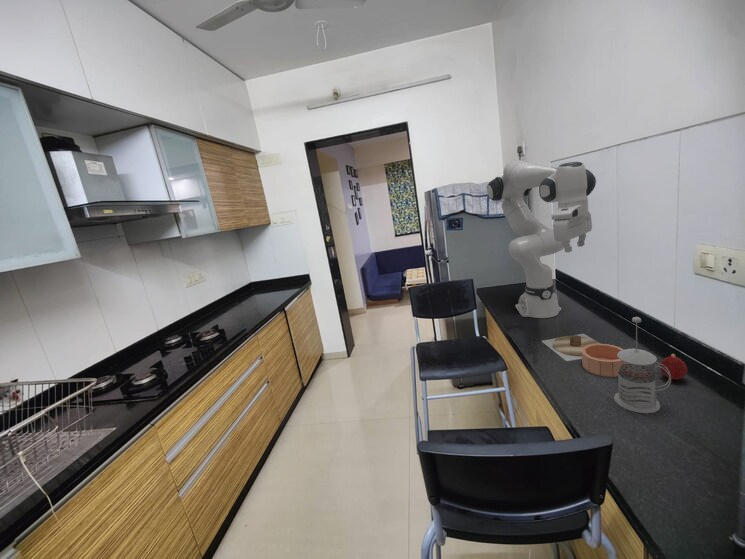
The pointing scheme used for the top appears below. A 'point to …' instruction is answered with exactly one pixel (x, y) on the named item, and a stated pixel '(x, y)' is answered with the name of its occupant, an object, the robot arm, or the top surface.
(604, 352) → the bowl
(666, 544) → the top surface
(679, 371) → the pomegranate
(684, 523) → the top surface
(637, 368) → the french press
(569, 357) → the mat
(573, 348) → the lid
